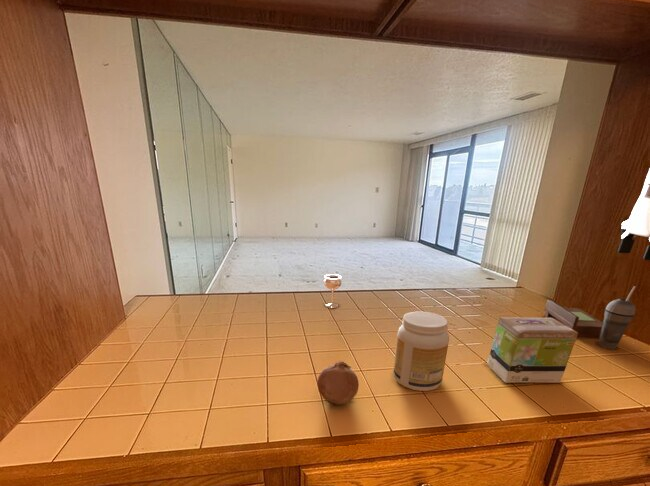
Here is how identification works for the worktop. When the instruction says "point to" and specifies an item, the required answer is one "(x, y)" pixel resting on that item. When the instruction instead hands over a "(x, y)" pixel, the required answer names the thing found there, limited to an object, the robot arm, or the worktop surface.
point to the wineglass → (332, 286)
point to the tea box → (531, 349)
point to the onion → (338, 384)
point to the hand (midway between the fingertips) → (635, 256)
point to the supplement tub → (421, 351)
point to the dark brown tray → (574, 319)
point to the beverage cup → (616, 321)
